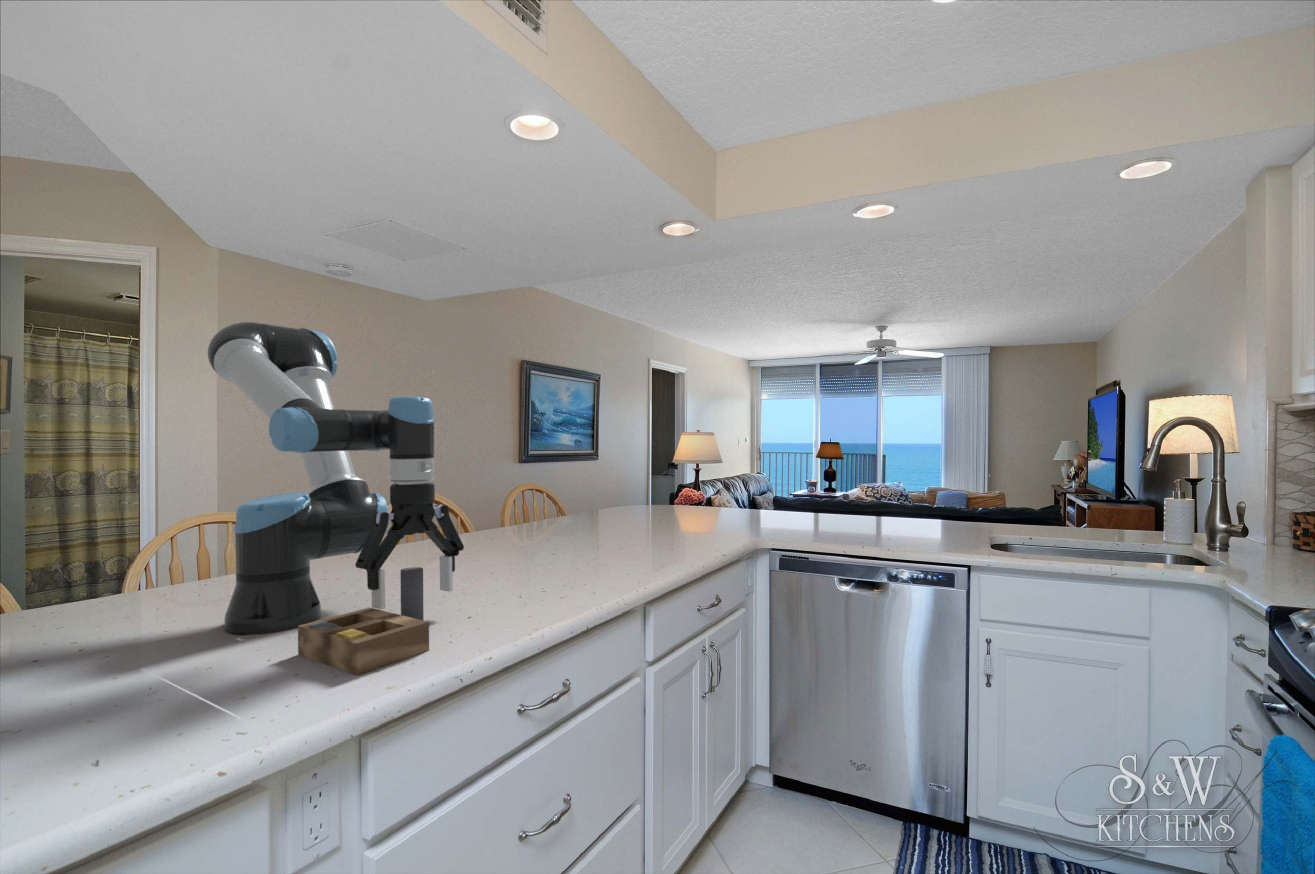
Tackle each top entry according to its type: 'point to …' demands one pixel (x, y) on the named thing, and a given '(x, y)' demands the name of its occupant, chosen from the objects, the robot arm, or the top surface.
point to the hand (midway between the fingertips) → (414, 600)
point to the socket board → (363, 639)
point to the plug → (412, 592)
